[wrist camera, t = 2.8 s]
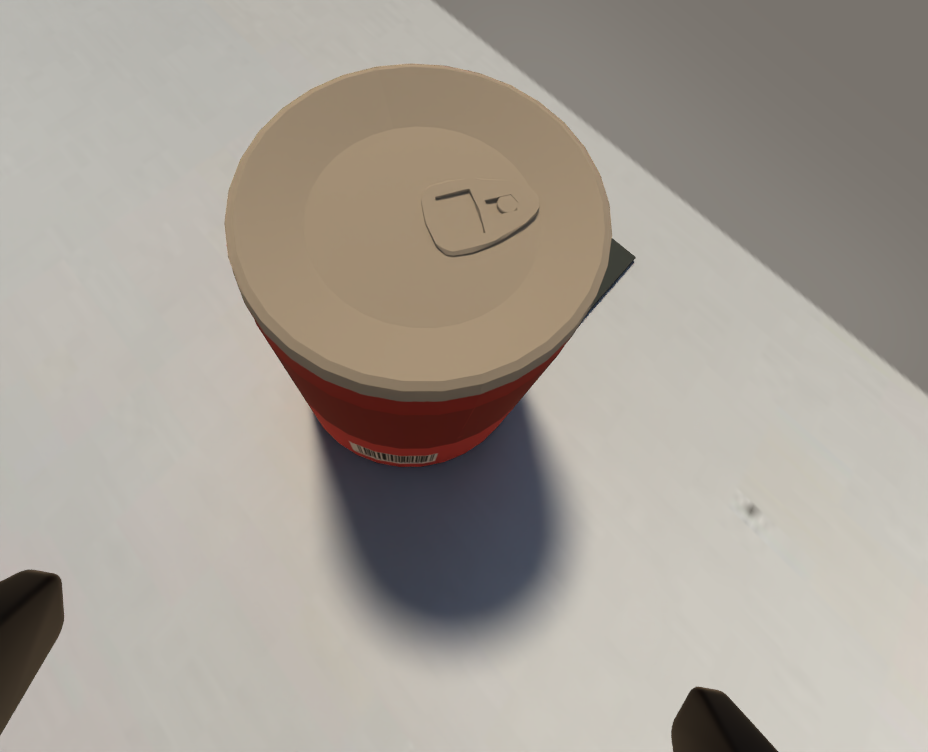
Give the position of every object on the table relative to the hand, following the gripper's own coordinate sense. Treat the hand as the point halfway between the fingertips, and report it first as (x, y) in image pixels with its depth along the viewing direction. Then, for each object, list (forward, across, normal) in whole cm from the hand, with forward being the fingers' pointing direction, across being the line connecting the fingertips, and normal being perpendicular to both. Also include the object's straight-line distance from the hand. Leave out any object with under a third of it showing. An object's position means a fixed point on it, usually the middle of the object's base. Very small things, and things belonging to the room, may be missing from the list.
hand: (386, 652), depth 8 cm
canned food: (+15, +1, +2) cm, 15 cm away
